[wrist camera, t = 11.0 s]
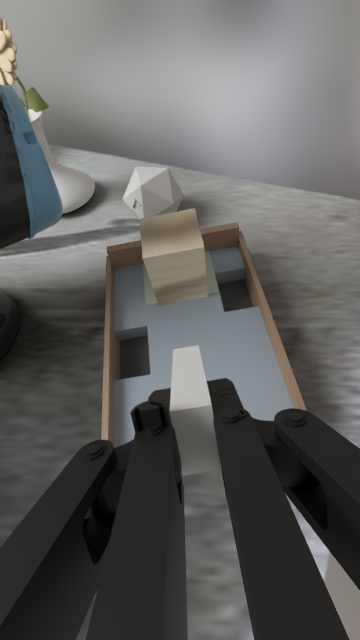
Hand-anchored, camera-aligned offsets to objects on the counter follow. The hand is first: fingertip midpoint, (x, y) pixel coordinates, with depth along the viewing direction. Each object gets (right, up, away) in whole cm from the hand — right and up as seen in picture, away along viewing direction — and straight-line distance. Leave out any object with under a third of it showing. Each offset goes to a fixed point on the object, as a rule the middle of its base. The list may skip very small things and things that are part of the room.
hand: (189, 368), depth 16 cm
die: (-4, +20, +30) cm, 36 cm away
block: (-1, +8, +19) cm, 20 cm away
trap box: (+1, +1, +17) cm, 17 cm away
